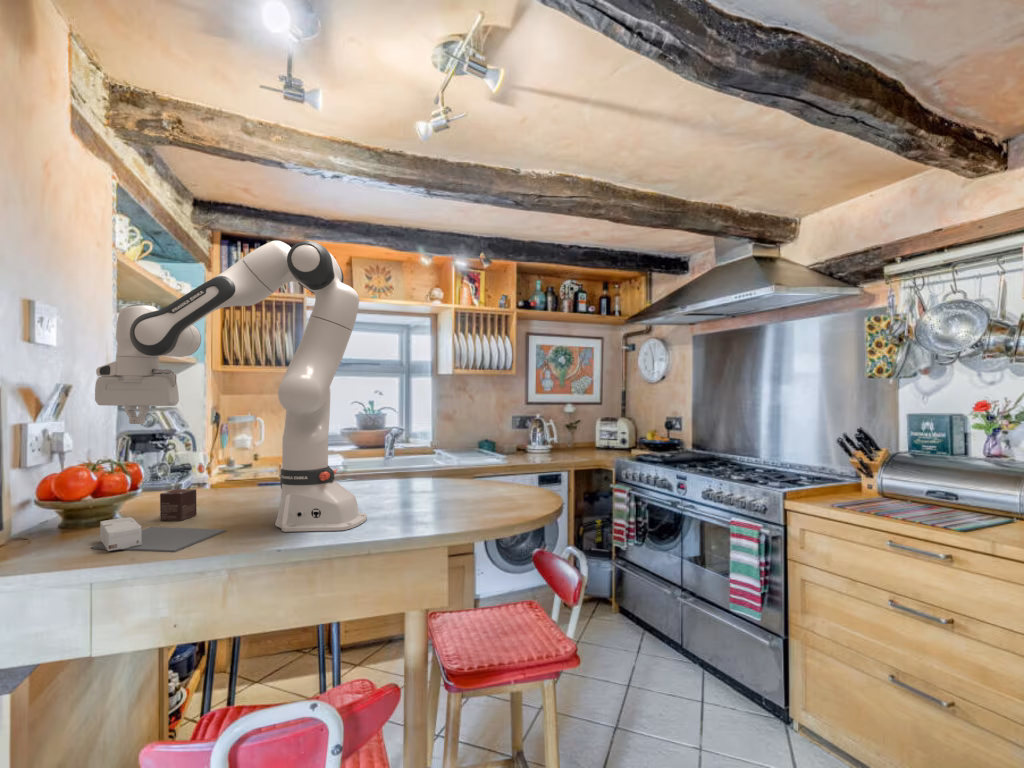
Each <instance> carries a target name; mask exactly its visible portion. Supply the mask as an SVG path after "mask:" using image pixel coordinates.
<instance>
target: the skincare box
mask: <svg viewBox="0 0 1024 768" xmlns="http://www.w3.org/2000/svg"><path fill="white" fill-rule="evenodd" d="M99 522H100V523H99V525H100V526H99V527H100V529H99V530H100V531H99V539H100V541H101V543H103V544H104V546H105V547H106V549H105V550H107V552H112V551H119V550H118V549H125V548H129V547H134V546H139V545H142V533H141V530H143V528H142V525H141V524H139V523H138V522H137V521H136V520H135V519H134V518H133V517H130V516H126V517H120V518H113V519H108V520H102V521H99Z"/></svg>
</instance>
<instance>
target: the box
mask: <svg viewBox="0 0 1024 768" xmlns="http://www.w3.org/2000/svg"><path fill="white" fill-rule="evenodd" d="M159 502H160V503H159V504H160V505H159V509H160V510H159V511H160V512H159V513H160V514H159V515H160V516H159V518H160V522H161V521H165V522H167V521H170V522H172V521H173V522H174V521H175V522H177V521H178V522H183V521H185V520H188V519H190V518H194V517H196V516H197V515H198V514H197V489H196V488H195V489H193V488H192V489H191V488H189V489H188V488H186V489H184V488H176V489H172V490H168V491H164V492H160V493H159Z"/></svg>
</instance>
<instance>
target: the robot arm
mask: <svg viewBox="0 0 1024 768" xmlns="http://www.w3.org/2000/svg"><path fill="white" fill-rule="evenodd" d="M290 282H294V283H295V282H296V283H297V284H298V285H300V286H301V287H302V288H305V289H306V290H307V291H308V292H309V293H310V292H311V293H312V294H313V295H314V297H315V302H314V305H313V308H312V310H311V313H310V316H309V319H308V320H307V324H306V327H305V328H304V332H303V335H302V337H301V340H300V342H299V345H298V347H297V349H296V351H295V353H294V355H293V356H292V359H291V360H290V362H289V365H288V367H287V369H286V370H285V373H284V376H283V377H282V380H281V382H280V384H279V386H278V391H277V396H278V401H279V404H281V406H282V408H283V409H284V410H286V411H285V421H284V429H283V435H282V443H281V444H282V447H281V448H282V451H281V452H282V455H281V456H282V457H281V460H282V464H281V465H282V467H281V468H280V473H279V474H280V477H279V478H280V480H279V481H280V483H279V484H280V489H281V492H280V500H279V507H278V513H277V516H276V519H275V524H274V525H275V527H277V528H280V529H281V532H285V533H288V532H289V533H290V532H331V531H338V532H339V531H345V530H350V529H353V528H356V527H357V526H358V527H359V526H360V525H362V524H364V523H365V522H367V520H368V516H367V513H365V512H359V507H358V505H359V504H358V500H357V498H356V496H355V495H354V494H353V493H352V492H351V491H348V490H347V489H346V488H345V487H344V486H342V485H341V484H339V482H337V481H335V475H336V474H338V472H337V471H338V469H332V468H331V467H330V466H329V429H330V428H329V427H330V415H331V414H330V412H331V411H330V410H331V388H330V387H331V384H332V382H333V380H334V378H335V375H336V373H337V371H338V369H339V366H340V364H341V362H342V360H343V358H344V354H345V351H346V350H347V348H348V347H347V346H348V343H349V341H350V338H351V335H352V332H353V330H354V327H355V323H356V320H357V316H358V311H359V306H360V305H359V304H360V296H359V294H358V292H357V291H356V289H354V288H353V287H351V286H350V285H347V284H346V283H344V273H343V269H342V268H341V266H340V265H339V264H338V261H337V260H336V258H335V257H334V255H333V254H332V253H331V252H330V251H328V249H327V248H326V247H324V245H322V244H320V243H318V242H316V241H313V240H301V241H299V242H297V243H295V244H294V245H292V246H290V244H287V243H285V242H283V241H281V240H272V241H269V242H266V243H265V244H263V245H261V246H259V247H257V248H255V249H254V250H251V252H249V253H248V254H246V255H245V256H243V257H242V258H240V259H239V260H238V261H236V262H235V263H234V264H232V265H231V266H230V267H228V268H227V269H225V270H224V271H222V272H221V273H220V274H218V275H215V276H214V277H213V278H211V279H210V280H208V281H205V282H204V283H202V284H201V285H198V286H197V287H195V288H193V290H191V291H189V292H188V293H186V294H184V295H183V296H181V297H180V298H178V299H177V300H175V301H173V302H172V303H170V304H169V305H167V306H165V307H163V308H161V309H158V308H157V307H155V306H154V305H150V304H132V305H126V306H125V307H123V308H121V309H120V311H119V313H118V315H117V320H116V329H115V330H116V331H115V333H116V334H115V340H116V343H117V352H116V353H115V354H116V355H115V361H112V362H109V363H107V364H104V365H101V366H98V367H97V368H96V370H95V373H96V376H98V378H97V379H96V381H95V387H94V402H96V404H97V405H98V406H118V407H121V406H123V407H124V412H125V413H126V415H127V417H128V423H129V425H130V424H131V425H144V424H145V423H146V417H147V416H148V414H149V413H150V410H151V407H172V406H177V405H178V403H179V401H180V400H179V399H180V398H179V388H178V382H177V374H176V373H175V372H174V371H172V369H167V368H166V369H161V368H160V357H161V356H163V357H171V358H172V357H174V358H175V357H176V358H182V357H183V358H184V357H189V356H191V355H193V354H195V353H196V352H197V351H198V350H199V349H200V346H201V343H202V334H201V332H200V330H199V328H197V327H196V326H195V324H196V323H197V322H199V321H200V320H202V319H203V318H205V317H206V316H208V315H210V314H211V313H213V312H215V311H216V310H219V309H223V308H230V307H250V306H255V305H256V304H259V303H260V302H263V301H264V300H266V299H267V298H269V297H270V296H271V295H273V294H274V293H275V292H277V291H278V290H279V289H280V288H281V287H283V286H285V285H286V284H287V283H290ZM136 410H138V411H139V412H138V414H137V413H136Z"/></svg>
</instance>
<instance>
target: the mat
mask: <svg viewBox="0 0 1024 768" xmlns="http://www.w3.org/2000/svg"><path fill="white" fill-rule="evenodd" d="M226 531H227V529H224V528H222V529H220V528H219V529H218V528H197V527H196V528H195V527H193V528H192V527H167V526H166V527H165V526H163V527H162V526H150V527H147V528H144V529H143V528H142V530H141V533H142V545H139V546H134V547H129V548H125V549H118V550H117V551H138V552H140V551H141V552H162V553H163V552H164V553H176V552H178V551H181V550H184V549H186V548H189V547H191V546H194V545H196V544H198V543H200V542H202V541H205V540H208V539H210V538H213V537H215V536H217V535H219V534H223V533H224V532H226ZM90 549H91V550H107V549H106V547H105V546H104V544H103V543H102V542H100V543H98V544H95V545H92V546H90Z"/></svg>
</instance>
